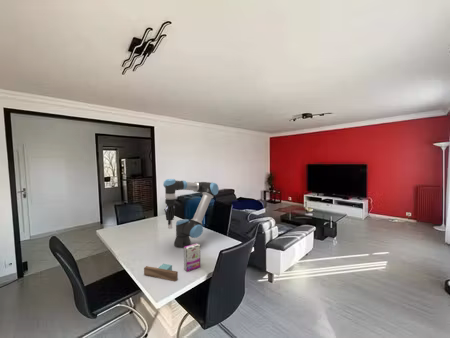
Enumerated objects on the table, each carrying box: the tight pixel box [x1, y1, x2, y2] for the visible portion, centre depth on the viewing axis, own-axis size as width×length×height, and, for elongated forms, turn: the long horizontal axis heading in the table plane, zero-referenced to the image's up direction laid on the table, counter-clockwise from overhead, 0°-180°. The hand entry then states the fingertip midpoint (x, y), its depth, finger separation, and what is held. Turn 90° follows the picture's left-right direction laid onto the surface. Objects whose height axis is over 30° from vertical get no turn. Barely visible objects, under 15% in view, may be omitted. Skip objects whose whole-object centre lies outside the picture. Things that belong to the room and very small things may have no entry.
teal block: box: [158, 263, 173, 271], centre depth 139 cm, size 7×7×4 cm
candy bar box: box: [183, 243, 201, 273], centre depth 145 cm, size 11×5×16 cm, turn 126°
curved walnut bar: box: [143, 265, 179, 282], centre depth 133 cm, size 2×24×5 cm, turn 74°
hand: (170, 228), depth 159 cm, fingers closed
